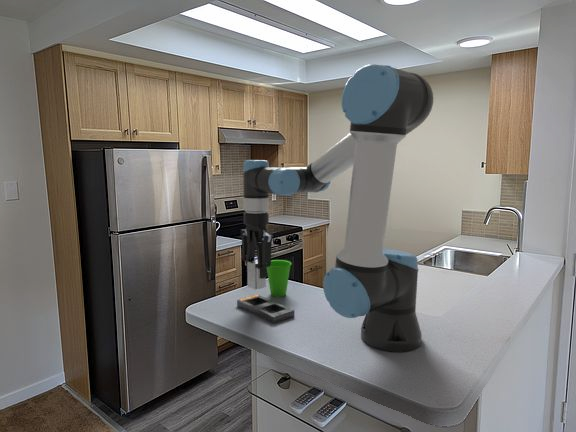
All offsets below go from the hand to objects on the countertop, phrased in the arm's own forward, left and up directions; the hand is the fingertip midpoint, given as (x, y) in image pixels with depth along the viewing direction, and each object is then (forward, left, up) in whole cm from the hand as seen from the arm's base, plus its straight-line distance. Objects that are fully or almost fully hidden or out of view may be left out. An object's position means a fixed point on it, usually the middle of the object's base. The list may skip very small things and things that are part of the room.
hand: (256, 285), depth 122 cm
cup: (+5, -13, -7) cm, 16 cm away
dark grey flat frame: (-4, 0, -7) cm, 8 cm away
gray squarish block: (0, 0, 0) cm, 0 cm away
